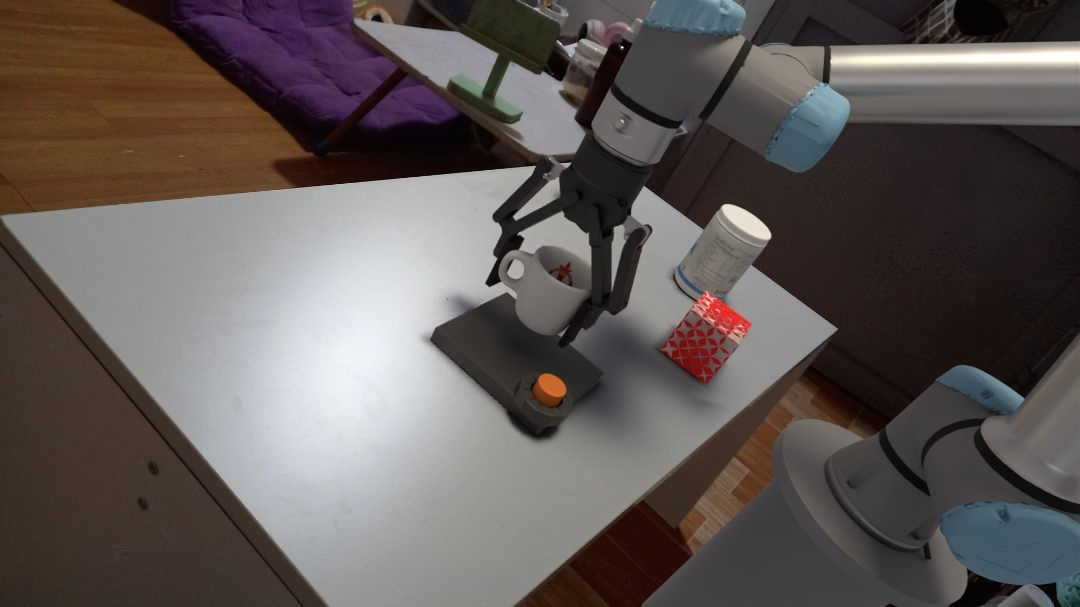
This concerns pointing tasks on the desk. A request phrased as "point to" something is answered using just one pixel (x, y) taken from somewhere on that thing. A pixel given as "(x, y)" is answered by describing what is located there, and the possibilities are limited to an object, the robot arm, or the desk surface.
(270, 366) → the desk surface
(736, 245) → the supplement tub
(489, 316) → the scale
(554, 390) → the button
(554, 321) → the cup
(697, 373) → the red patterned cube
